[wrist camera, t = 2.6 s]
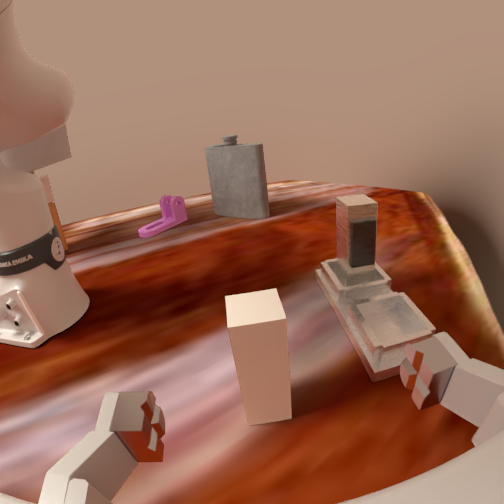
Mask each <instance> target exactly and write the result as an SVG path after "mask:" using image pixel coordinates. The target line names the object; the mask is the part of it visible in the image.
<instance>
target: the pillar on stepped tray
mask: <svg viewBox="0 0 504 504" xmlns="http://www.w3.org/2000/svg"><path fill="white" fill-rule="evenodd" d="M336 217H337V258H336V259H330V260H325V262H321V269H317V270H315V279H316V280H317V282H318V284H319V286H320V287H321V289H322V291H323V293H324V294H325V296H326V298H327V300H328V302H329V303H330V305H331V307H332V309H333V310H334V312H335V314H336V316H337V318H338V319H339V321H340V323H341V325H342V327H343V328H344V330H345V332H346V334H347V336H348V338H349V339H350V341H351V343H352V345H353V347H354V349H355V350H356V352H357V354H358V356H359V358H360V360H361V362H362V363H363V365H364V367H365V369H366V371H367V373H368V375H369V377H370V378H371V380H372V382H376V381H380V380H383V379H386V378H390V377H393V376H396V375H399V374H400V366H401V362H402V361H403V360H404V358H405V357H406V356H405V354H404V353H403V352H404V348H405V346H406V345H407V344H408V343H411V342H414V341H417V340H420V339H423V338H426V337H429V336H432V335H435V332H436V328H435V327H434V326H433V325H432V323H431V322H430V321H429V320H428V319H427V318H426V317H425V315H424V314H423V313H422V312H421V311H420V310H419V309H418V307H417V306H416V305H415V304H414V303H413V302H412V301H411V300H410V299H409V297H408V296H407V295H406V294H405V293H404V292H401V293H397V292H393V291H392V290H391V283H392V279H391V278H390V277H389V276H388V275H387V274H386V273H385V272H384V271H383V269H382V268H381V267H380V266H379V265H378V264H377V263H376V262H375V254H376V236H377V202H375V201H374V200H372V199H371V198H369V197H368V196H366V195H364V194H361V195H352V196H343V197H336Z"/></svg>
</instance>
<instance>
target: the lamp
mask: <svg viewBox="0 0 504 504" xmlns="http://www.w3.org/2000/svg"><path fill="white" fill-rule="evenodd" d="M70 157H71V153H70V147H69V142H68V136H67V131H66V125H63V126H61V127H59V128H57V129H56V130H54V131H52V132H50V133H48V134H46V135H44V136H43V137H41V138H39V139H36V140H33V141H30V142H27V143H24V144H21V145H19V146H16V147H13V148H11V149H8V150H5V151H3V152H2V153H0V158H1V161H2V163H3V165H4V166H5V167H6V168H8V169H14V170H21V171H26V172H29V173H32V174H34V171H35V170H37V169H40V168H43V167H45V166H48V165H51V164H54V163H57V162H59V161H62V160H65V159H67V158H70ZM38 178H39V179H40V180H41V182H42V184H43V187H44V191H45V195H46V199H47V202H48V206H49V210H50V214H51V217H52V221H53V224H55V225H56V226H57V229H58V231H59V234H60V237H61V241H62V244H63V247H64V251H66V250H68V246H67V243H66V240H65V237H64V234H63V230H62V227H61V224H60V220H59V217H58V213H57V209H56V206H55V203H52V201H54V198H53V194H52V190H51V186H50V182H49V178H48V175H45V176H40V177H38Z"/></svg>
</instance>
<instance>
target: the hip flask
mask: <svg viewBox="0 0 504 504" xmlns="http://www.w3.org/2000/svg"><path fill="white" fill-rule="evenodd" d="M236 138H237V135H227V136H223V137H222V140H224V142H223V144H218V145H214V146H208V147H205V153H206V160H207V167H208V174H209V180H210V187H211V193H212V200H213V206H214V212H215V215H220V216H226V217H234V218H246V219H266V218H269V217H270V212H269V202H268V192H267V182H266V172H265V164H264V154H263V145H262V143H252V144H236V143H237V140H236Z"/></svg>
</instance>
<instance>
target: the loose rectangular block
mask: <svg viewBox="0 0 504 504" xmlns="http://www.w3.org/2000/svg"><path fill="white" fill-rule="evenodd" d="M225 300H226V313H227V325H228V332H229V337H230V342H231V346H232V351H233V356H234V361H235V366H236V370H237V375H238V380H239V384H240V389H241V394H242V398H243V403H244V407H245V412H246V416H247V420H248V425H249V426H251V425H257V424H264V423H270V422H276V421H282V420H287V419H292V410H291V389H290V370H289V352H288V336H287V320H286V316H285V313H284V310H283V307H282V304H281V301H280V298H279V295H278V292H277V289H276V288H275V289H269V290H262V291H256V292H250V293H243V294H236V295H230V296H225Z"/></svg>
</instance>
